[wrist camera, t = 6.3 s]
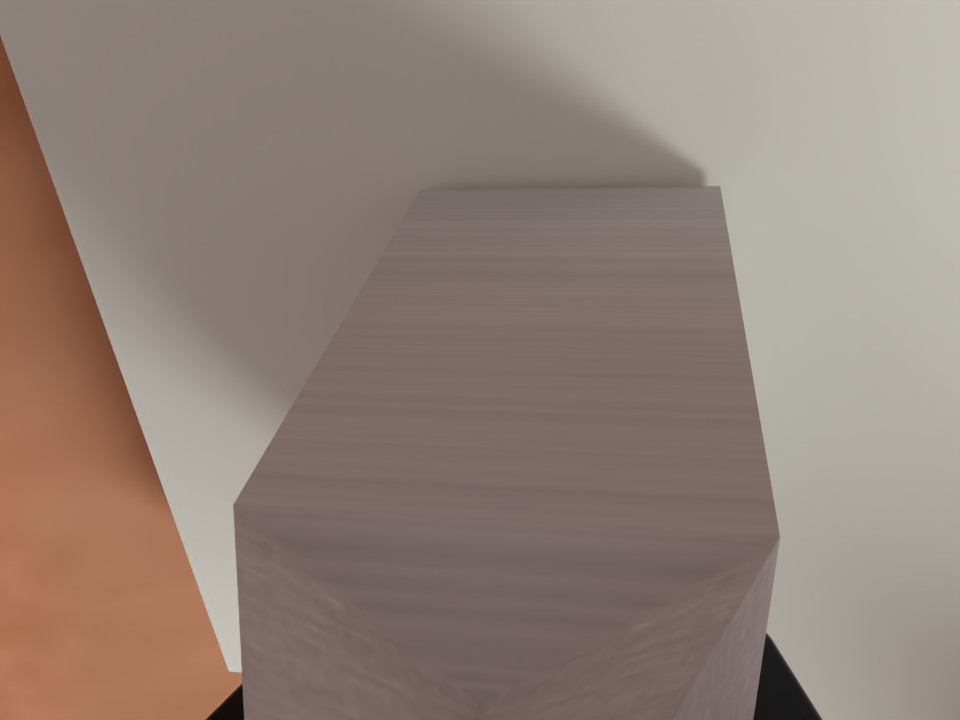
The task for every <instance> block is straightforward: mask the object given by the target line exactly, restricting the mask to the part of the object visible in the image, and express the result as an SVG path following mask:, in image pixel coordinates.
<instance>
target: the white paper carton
mask: <svg viewBox="0 0 960 720" xmlns="http://www.w3.org/2000/svg"><path fill="white" fill-rule="evenodd" d="M233 511H234V530H235V549H236V569H237V588H238V607H239V627H240V646H241V665H242V685H243V704H244V720H753V718H754V712H755V705H756V698H757V691H758V684H759V678H760V671H761V664H762V657H763V651H764V644H765V637H766V630H767V623H768V617H769V610H770V603H771V596H772V589H773V583H774V576H775V569H776V562H777V555H778V549H779V542H780V533H779V527H778V521H777V516H776V510H775V504H774V498H773V492H772V486H771V480H770V475H769V469H768V463H767V457H766V451H765V445H764V440H763V434H762V428H761V422H760V416H759V410H758V404H757V399H756V393H755V387H754V381H753V375H752V369H751V363H750V358H749V352H748V346H747V340H746V334H745V328H744V322H743V317H742V311H741V305H740V299H739V293H738V287H737V282H736V276H735V270H734V264H733V258H732V252H731V246H730V241H729V235H728V229H727V223H726V217H725V211H724V205H723V200H722V194H721V188H720V186H697V187H606V188H516V189H425V190H420V191H419V193H418V194H417V196H416V198H415V199H414V201H413V203H412V204H411V206H410V208H409V209H408V211H407V213H406V214H405V216H404V218H403V220H402V221H401V223H400V225H399V226H398V228H397V230H396V231H395V233H394V235H393V236H392V238H391V240H390V241H389V243H388V245H387V246H386V248H385V250H384V252H383V253H382V255H381V257H380V258H379V260H378V262H377V263H376V265H375V267H374V268H373V270H372V272H371V273H370V275H369V277H368V278H367V280H366V282H365V284H364V285H363V287H362V289H361V290H360V292H359V294H358V295H357V297H356V299H355V300H354V302H353V304H352V305H351V307H350V309H349V310H348V312H347V314H346V316H345V317H344V319H343V321H342V322H341V324H340V326H339V327H338V329H337V331H336V332H335V334H334V336H333V337H332V339H331V341H330V343H329V344H328V346H327V348H326V349H325V351H324V353H323V354H322V356H321V358H320V359H319V361H318V363H317V364H316V366H315V368H314V369H313V371H312V373H311V375H310V376H309V378H308V380H307V381H306V383H305V385H304V386H303V388H302V390H301V391H300V393H299V395H298V396H297V398H296V400H295V401H294V403H293V405H292V407H291V408H290V410H289V412H288V413H287V415H286V417H285V418H284V420H283V422H282V423H281V425H280V427H279V428H278V430H277V432H276V433H275V435H274V437H273V439H272V440H271V442H270V444H269V445H268V447H267V449H266V450H265V452H264V454H263V455H262V457H261V459H260V460H259V462H258V464H257V466H256V467H255V469H254V471H253V472H252V474H251V476H250V477H249V479H248V481H247V482H246V484H245V486H244V487H243V489H242V491H241V492H240V494H239V496H238V498H237V499H236V501H235V503H234V504H233Z"/></svg>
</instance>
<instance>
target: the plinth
mask: <svg viewBox="0 0 960 720" xmlns="http://www.w3.org/2000/svg"><path fill="white" fill-rule="evenodd" d="M0 36H1V39H2V42H3V45H4V47H5V50H6V53H7V56H8V59H9V61H10V64H11V67H12V70H13V73H14V75H15V78H16V81H17V84H18V86H19V89H20V92H21V95H22V98H23V100H24V103H25V106H26V109H27V111H28V114H29V117H30V120H31V123H32V125H33V128H34V131H35V134H36V136H37V139H38V142H39V145H40V148H41V150H42V153H43V156H44V159H45V161H46V164H47V167H48V170H49V173H50V175H51V178H52V181H53V184H54V187H55V189H56V192H57V195H58V198H59V200H60V203H61V206H62V209H63V212H64V214H65V217H66V220H67V223H68V225H69V228H70V231H71V234H72V237H73V239H74V242H75V245H76V248H77V250H78V253H79V256H80V259H81V262H82V264H83V267H84V270H85V273H86V275H87V278H88V281H89V284H90V287H91V289H92V292H93V295H94V298H95V301H96V303H97V306H98V309H99V312H100V314H101V317H102V320H103V323H104V326H105V328H106V331H107V334H108V337H109V339H110V342H111V345H112V348H113V351H114V353H115V356H116V359H117V362H118V364H119V367H120V370H121V373H122V376H123V378H124V381H125V384H126V387H127V389H128V392H129V395H130V398H131V401H132V403H133V406H134V409H135V412H136V415H137V417H138V420H139V423H140V426H141V428H142V431H143V434H144V437H145V440H146V442H147V445H148V448H149V451H150V453H151V456H152V459H153V462H154V465H155V467H156V470H157V473H158V476H159V478H160V481H161V484H162V487H163V490H164V492H165V495H166V498H167V501H168V503H169V506H170V509H171V512H172V515H173V517H174V520H175V523H176V526H177V529H178V531H179V534H180V537H181V540H182V542H183V545H184V548H185V551H186V554H187V556H188V559H189V562H190V565H191V567H192V570H193V573H194V576H195V579H196V581H197V584H198V587H199V590H200V592H201V595H202V598H203V601H204V604H205V606H206V609H207V612H208V615H209V617H210V620H211V623H212V626H213V629H214V631H215V634H216V637H217V640H218V643H219V645H220V648H221V651H222V654H223V656H224V659H225V662H226V665H227V668H228V670H229V671H231V672H241V673H242V665H241V646H240V627H239V607H238V588H237V569H236V549H235V530H234V511H233V504H234V503H235V501H236V499H237V498H238V496H239V494H240V492H241V491H242V489H243V487H244V486H245V484H246V482H247V481H248V479H249V477H250V476H251V474H252V472H253V471H254V469H255V467H256V466H257V464H258V462H259V460H260V459H261V457H262V455H263V454H264V452H265V450H266V449H267V447H268V445H269V444H270V442H271V440H272V439H273V437H274V435H275V433H276V432H277V430H278V428H279V427H280V425H281V423H282V422H283V420H284V418H285V417H286V415H287V413H288V412H289V410H290V408H291V407H292V405H293V403H294V401H295V400H296V398H297V396H298V395H299V393H300V391H301V390H302V388H303V386H304V385H305V383H306V381H307V380H308V378H309V376H310V375H311V373H312V371H313V369H314V368H315V366H316V364H317V363H318V361H319V359H320V358H321V356H322V354H323V353H324V351H325V349H326V348H327V346H328V344H329V343H330V341H331V339H332V337H333V336H334V334H335V332H336V331H337V329H338V327H339V326H340V324H341V322H342V321H343V319H344V317H345V316H346V314H347V312H348V310H349V309H350V307H351V305H352V304H353V302H354V300H355V299H356V297H357V295H358V294H359V292H360V290H361V289H362V287H363V285H364V284H365V282H366V280H367V278H368V277H369V275H370V273H371V272H372V270H373V268H374V267H375V265H376V263H377V262H378V260H379V258H380V257H381V255H382V253H383V252H384V250H385V248H386V246H387V245H388V243H389V241H390V240H391V238H392V236H393V235H394V233H395V231H396V230H397V228H398V226H399V225H400V223H401V221H402V220H403V218H404V216H405V214H406V213H407V211H408V209H409V208H410V206H411V204H412V203H413V201H414V199H415V198H416V196H417V194H418V193H419V191H420V190H425V189H516V188H606V187H697V186H720V188H721V194H722V200H723V205H724V211H725V217H726V223H727V229H728V235H729V241H730V246H731V252H732V258H733V264H734V270H735V276H736V282H737V287H738V293H739V299H740V305H741V311H742V317H743V322H744V328H745V334H746V340H747V346H748V352H749V358H750V363H751V369H752V375H753V381H754V387H755V393H756V399H757V404H758V410H759V416H760V422H761V428H762V434H763V440H764V445H765V451H766V457H767V463H768V469H769V475H770V480H771V486H772V492H773V498H774V504H775V510H776V516H777V521H778V527H779V533H780V542H779V549H778V555H777V562H776V569H775V576H774V583H773V589H772V596H771V603H770V610H769V617H768V623H767V630H766V633H767V634H768V635H769V636H770V637H771V638H772V640H773V641H774V643H775V645H776V646H777V648H778V649H779V651H780V653H781V654H782V656H783V657H784V659H785V661H786V662H787V664H788V665H789V667H790V669H791V670H792V672H793V673H794V675H795V677H796V678H797V680H798V681H799V683H800V685H801V686H802V688H803V689H804V691H805V693H806V694H807V696H808V697H809V699H810V701H811V702H812V704H813V705H814V707H815V709H816V710H817V712H818V713H819V715H820V717H821V718H822V720H960V0H0Z"/></svg>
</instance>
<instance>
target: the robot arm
mask: <svg viewBox="0 0 960 720" xmlns="http://www.w3.org/2000/svg"><path fill="white" fill-rule="evenodd" d="M206 720H244V704H243V685H242V684H241V685H240V686H239V687H238V688H237V689H236V690H235V691H234V692H233V693H232V694H231V695H230V696H229V697H228V698H227V699H226V700H225V701H224V702H223V703H222V704H221V705H220V706H219V707H218V708H217V709H216V710H215V711H214V712H213V713H212V714H211V715H210V716H209V717H208V718H207V719H206ZM753 720H822V718H821V717H820V715H819V713H818V712H817V710H816V709H815V707H814V705H813V704H812V702H811V701H810V699H809V697H808V696H807V694H806V693H805V691H804V689H803V688H802V686H801V685H800V683H799V681H798V680H797V678H796V677H795V675H794V673H793V672H792V670H791V669H790V667H789V665H788V664H787V662H786V661H785V659H784V657H783V656H782V654H781V653H780V651H779V649H778V648H777V646H776V645H775V643H774V641H773V640H772V638H771V637H770V636H769V635H768V634H767V633H766V637H765V644H764V651H763V657H762V664H761V671H760V678H759V684H758V691H757V698H756V705H755V712H754V718H753Z"/></svg>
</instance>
